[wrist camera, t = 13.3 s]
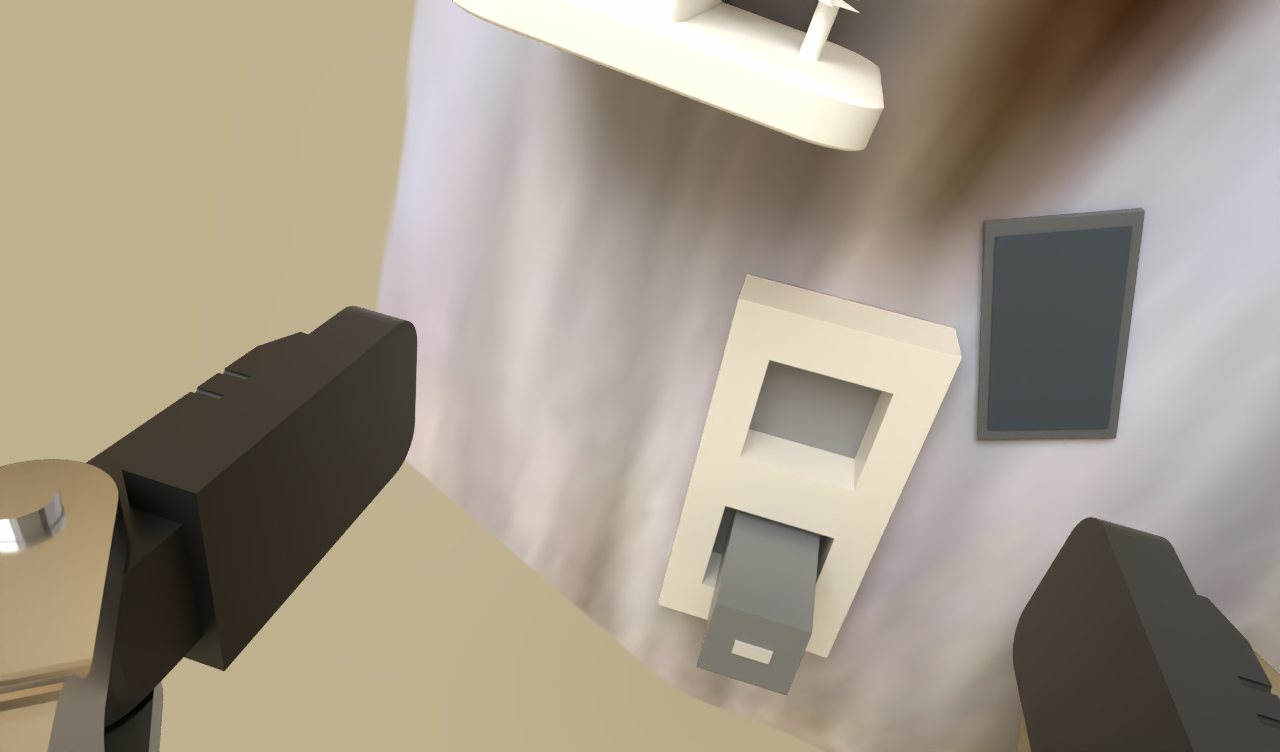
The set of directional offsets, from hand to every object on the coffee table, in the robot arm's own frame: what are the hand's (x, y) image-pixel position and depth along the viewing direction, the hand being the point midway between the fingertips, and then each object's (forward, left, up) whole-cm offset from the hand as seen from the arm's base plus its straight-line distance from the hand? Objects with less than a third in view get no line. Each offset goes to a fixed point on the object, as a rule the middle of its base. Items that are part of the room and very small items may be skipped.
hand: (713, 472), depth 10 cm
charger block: (-4, +24, -28) cm, 37 cm away
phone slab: (-13, +8, -29) cm, 33 cm away
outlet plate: (-4, +19, -28) cm, 34 cm away
